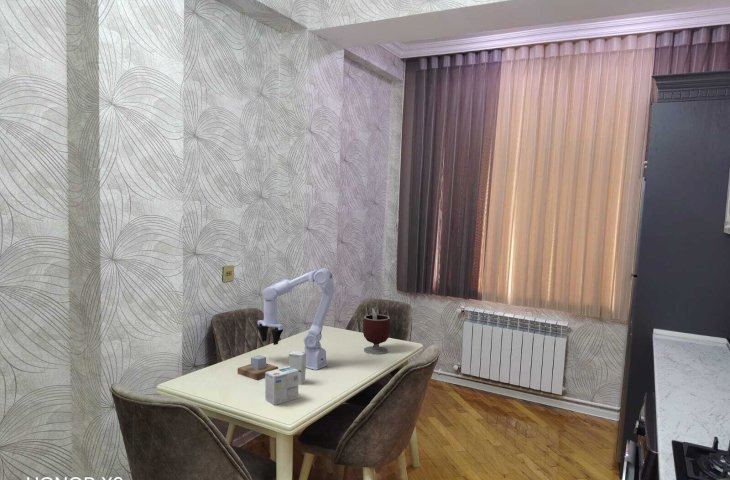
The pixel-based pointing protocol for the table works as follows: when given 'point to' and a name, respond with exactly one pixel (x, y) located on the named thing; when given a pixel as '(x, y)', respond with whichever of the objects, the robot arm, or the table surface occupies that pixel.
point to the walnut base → (255, 371)
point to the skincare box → (298, 364)
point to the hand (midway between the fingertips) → (269, 342)
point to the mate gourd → (376, 332)
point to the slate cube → (258, 362)
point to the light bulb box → (281, 385)
